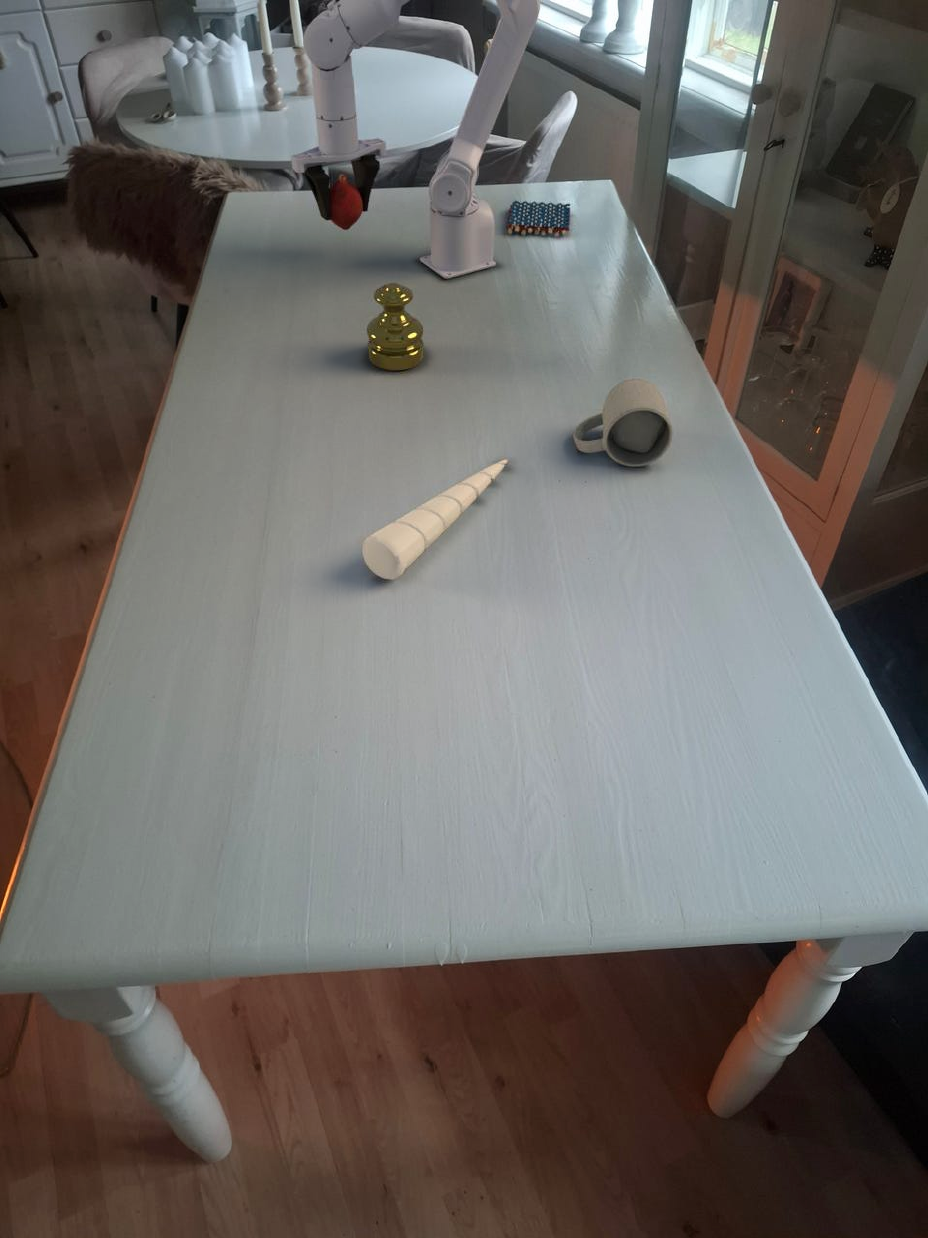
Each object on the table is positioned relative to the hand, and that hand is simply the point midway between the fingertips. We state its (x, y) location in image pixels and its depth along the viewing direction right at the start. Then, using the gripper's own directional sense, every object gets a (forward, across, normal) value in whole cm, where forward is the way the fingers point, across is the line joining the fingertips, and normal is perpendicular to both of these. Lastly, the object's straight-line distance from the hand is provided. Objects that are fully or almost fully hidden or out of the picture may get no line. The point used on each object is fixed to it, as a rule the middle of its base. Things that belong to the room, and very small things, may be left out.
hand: (344, 213), depth 132 cm
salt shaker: (+7, +9, +31) cm, 33 cm away
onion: (+3, 0, 0) cm, 3 cm away
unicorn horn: (+7, +22, +63) cm, 67 cm away
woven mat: (+7, -34, +5) cm, 35 cm away
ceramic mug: (+7, -3, +63) cm, 63 cm away
